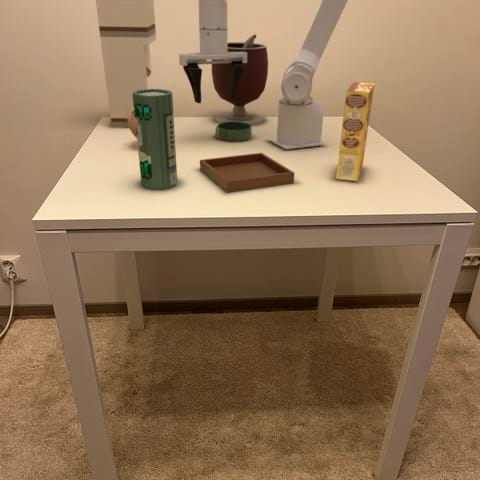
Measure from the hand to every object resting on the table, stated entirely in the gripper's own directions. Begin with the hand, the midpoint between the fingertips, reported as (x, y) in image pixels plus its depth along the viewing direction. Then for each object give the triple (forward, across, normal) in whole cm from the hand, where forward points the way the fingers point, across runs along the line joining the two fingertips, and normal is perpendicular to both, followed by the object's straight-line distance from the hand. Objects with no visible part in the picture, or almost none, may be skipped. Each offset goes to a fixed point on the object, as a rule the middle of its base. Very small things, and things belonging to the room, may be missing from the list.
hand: (214, 101), depth 107 cm
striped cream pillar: (+8, +12, -23) cm, 27 cm away
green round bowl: (+8, -5, -1) cm, 10 cm away
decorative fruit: (+8, +15, -1) cm, 17 cm away
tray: (+8, +4, +25) cm, 27 cm away
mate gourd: (+8, -13, -15) cm, 22 cm away
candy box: (+8, -15, +31) cm, 36 cm away
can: (+8, +20, +23) cm, 32 cm away
